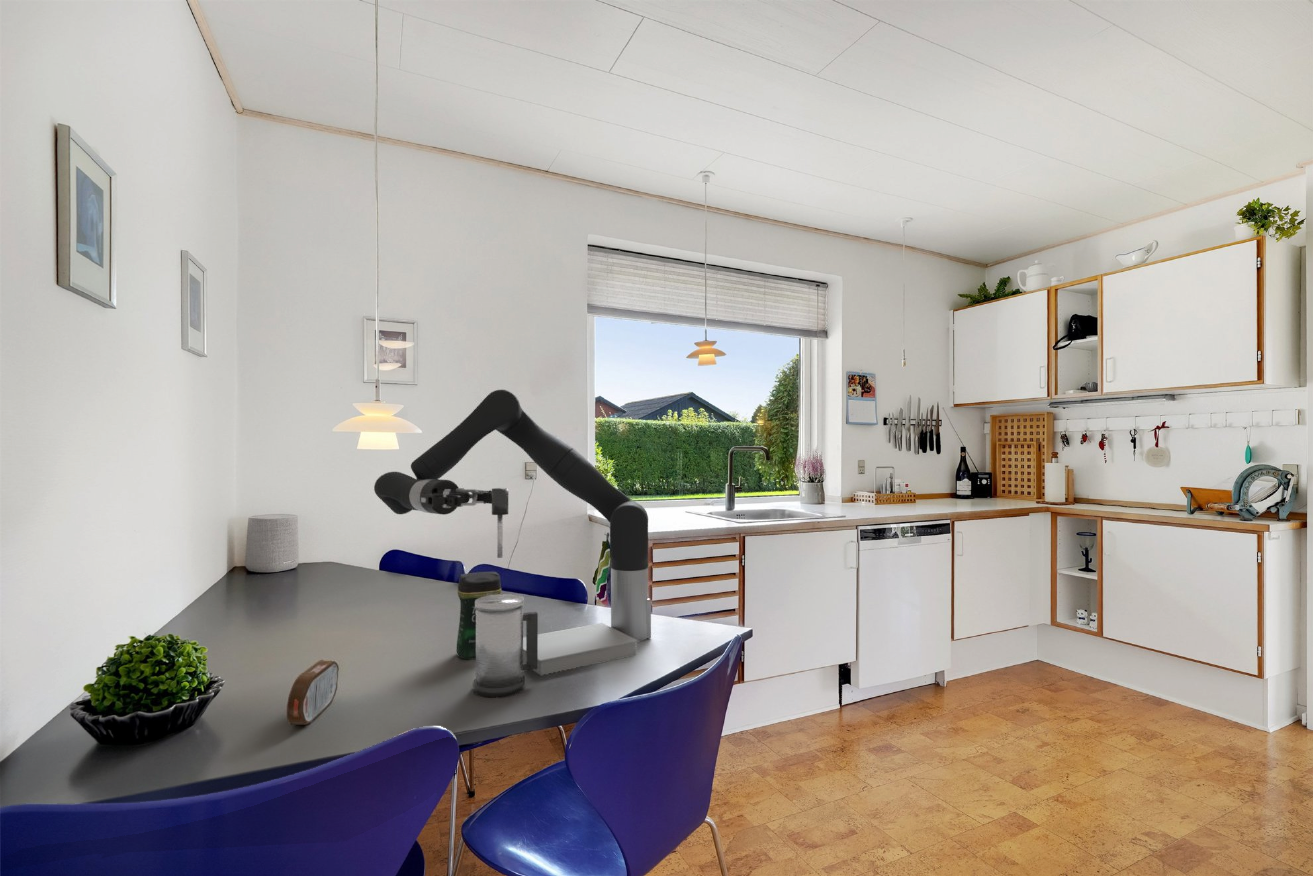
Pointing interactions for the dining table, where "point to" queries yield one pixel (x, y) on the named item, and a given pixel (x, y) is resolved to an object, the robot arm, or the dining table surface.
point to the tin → (312, 692)
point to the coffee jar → (473, 607)
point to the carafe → (503, 645)
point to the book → (580, 647)
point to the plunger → (499, 514)
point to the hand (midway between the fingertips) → (478, 500)
